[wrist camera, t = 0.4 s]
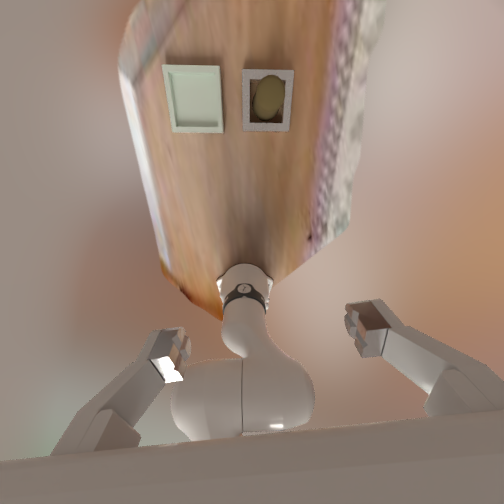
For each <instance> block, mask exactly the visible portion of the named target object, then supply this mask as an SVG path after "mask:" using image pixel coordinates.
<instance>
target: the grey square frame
mask: <svg viewBox="0 0 504 504" xmlns="http://www.w3.org/2000/svg"><path fill="white" fill-rule="evenodd" d="M267 75H276V76H278V77H279V78H280V79H281V80H282V82H283V83H284V87H285V99H284V102H283V104H282V117H281V123H250V83H259V82H260V81H261V79H262V78H263V77H265V76H267ZM293 78H294V70H266V69H242V105H243V132H289V125H290V113H291V102H292V90H293Z"/></svg>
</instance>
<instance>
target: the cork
mask: <svg viewBox="0 0 504 504" xmlns="http://www.w3.org/2000/svg"><path fill="white" fill-rule="evenodd" d="M284 99H285V87H284V83H283V82H282V80H281V79H280V78H279V77H278V76H276V75H267V76H265V77H263V78H262V79H261V81H260V82H259V84H258V86H257V90H256V93H255V95H254V97H253V102H252V107H253V111H254V114H255V115H256V117H257V118H259V119H260V120H263V121H269V120H271V119H273V118H274V117H275V116H276V114H277V113H278V110H279V108H280V107H281V106H282V104H283V102H284Z"/></svg>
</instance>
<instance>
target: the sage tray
mask: <svg viewBox="0 0 504 504" xmlns="http://www.w3.org/2000/svg"><path fill="white" fill-rule="evenodd" d="M162 70H163V77H164V83H165V89H166V95H167V102H168V108H169V114H170V120H171V126H172V132H175V133H224V124H223V104H222V84H221V69H220V67H219V66H208V65H162Z"/></svg>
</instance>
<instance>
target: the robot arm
mask: <svg viewBox="0 0 504 504" xmlns="http://www.w3.org/2000/svg"><path fill="white" fill-rule="evenodd" d="M268 284H269V285H268ZM272 284H273V280H272V279H271V278H270V277H268V276H266V275H265V274H264V272H263V271H262V270H261V269H260V268H258V267H257V266H255V265H252V264H238V265H235V266H233V267H231V268H230V269H229V270H228V271H227V272H226V273H225V275H224V276H222V277H220V278H219V279H218V280H217V286H218V289H219V292H220V298H221V299H222V302H223V315H224V317H223V325H222V332H221V333H222V339H223V341H224V343H225V344H226V346H227V347H228V348H229V349H230V350H231V351H233V352H235V353H236V354H238V355H240V356H242V357H243V358H241V359H213V360H212V359H211V360H206V361H203V362H198V363H195V364H191V365H188V366H187V365H186V362H185V361H186V360H187V359H188V358H189V356H190V352H191V343H190V339H189V337H187V336H185V332H186V331H185V330H184V328H183V327H178V328H169V329H162V330H153V331H152V332H151V333H150V334H149V336H148V338H147V340H146V342H145V344H144V346H143V348H142V350H141V352H140V354H139V356H138V358H137V359H136V361H135V362H132V363H131V364H130V365H129V366H128V367H126V368H125V369H124V370H123V371H122V372H121V373H120V374H119V375H118V376H117V377H115V378H114V379H113V380H112V381H111V382H110V383H109V384H108V385H107V386H106V387H104V388H103V389H102V390H101V391H100V392H99V393H98V394H97V395H96V396H94V397H93V398H92V399H91V400H90V401H89V402H88V403H87V404H86V405H84V406H83V407H82V408H81V409H80V410H79V411H78V412H77V413H76V415H75V417H74V418H73V420H72V421H71V423H70V425H69V426H68V428H67V429H66V431H65V432H64V434H63V435H62V437H61V439H60V440H59V442H58V443H57V445H56V446H55V448H54V449H53V451H52V453H51V454H50V456H45V457H36V458H26V459H16V460H6V461H0V504H504V381H503V380H502V379H501V378H500V377H498V375H496V374H495V373H494V372H493V371H492V370H491V369H490V368H489V367H488V366H487V365H485V364H483V363H481V362H479V361H477V360H475V359H473V358H471V357H469V356H468V355H466V354H464V353H461V352H460V351H458V350H456V349H454V348H452V347H450V346H448V345H446V344H444V343H442V342H440V341H438V340H436V339H434V338H432V337H430V336H428V335H426V334H424V333H422V332H420V331H418V330H416V329H414V328H412V327H410V326H404V324H403V323H402V322H401V321H400V320H399V318H398V317H397V316H396V315H395V314H394V313H393V312H392V311H391V310H390V309H389V307H388V306H387V305H386V304H385V303H384V302H383V301H382V300H381V299H374V300H368V301H361V302H354V303H347V304H346V307H345V310H346V311H347V314H346V315H345V320H344V321H345V326H346V329H347V331H348V333H349V335H350V336H351V337H352V338H354V339H355V346H356V348H357V350H358V352H359V353H360V355H361V357H362V358H366V357H376V356H382V358H384V359H385V360H386V361H387V362H389V363H390V364H391V365H392V366H394V367H395V368H396V369H398V370H399V371H400V372H401V373H403V374H404V375H405V376H406V377H408V378H409V379H410V380H411V381H413V382H414V383H415V384H417V385H418V386H419V387H420V388H422V389H423V390H424V391H425V392H427V393H428V394H429V396H428V398H427V400H426V402H425V404H424V407H423V408H424V410H425V411H426V413H427V414H428V416H429V417H426V418H415V419H406V420H396V421H386V422H378V423H377V422H376V423H367V424H358V425H348V426H337V427H327V428H318V429H308V430H298V431H290V432H279V433H269V434H259V435H250V436H243V435H242V433H243V432H262V431H283V430H286V429H290V428H293V427H296V426H299V425H302V424H305V423H307V422H308V421H309V419H310V417H311V415H312V412H313V409H314V403H315V402H314V401H315V393H314V387H313V383H312V380H311V378H310V376H309V374H308V372H307V370H306V369H305V367H304V366H303V365H302V364H301V363H300V362H299V361H297V360H295V359H293V358H292V357H290V356H288V355H287V354H286V353H284V352H283V351H282V350H281V349H280V348H279V347H278V346H277V345H276V344H275V343H274V341H273V340H272V339H271V337H270V335H269V332H268V329H267V324H266V319H265V314H266V310H267V309H268V303H267V302H269V298H268V297H269V294H270V291H271V288H272ZM173 381H176V382H175V384H174V387H173V390H172V394H171V413H172V417H173V420H174V422H175V424H176V426H177V427H178V428H179V429H180V430H181V431H183V432H184V433H185V434H186V435H187V436H188V438H189V439H190V440H191V442H182V443H172V444H162V445H152V446H142V447H138V445H139V442H140V439H141V437H140V434H139V433H138V432H137V431H136V430H134V429H133V427H134V426H135V424H136V423H137V422H138V420H139V419H140V418H141V416H142V415H143V414H144V412H145V411H146V410H147V408H148V407H149V406H150V404H151V403H152V402H153V400H154V399H155V398H156V396H157V395H158V393H159V392H160V391H161V390H162V388H163V387H164V386H165V384H166V382H173Z"/></svg>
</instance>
